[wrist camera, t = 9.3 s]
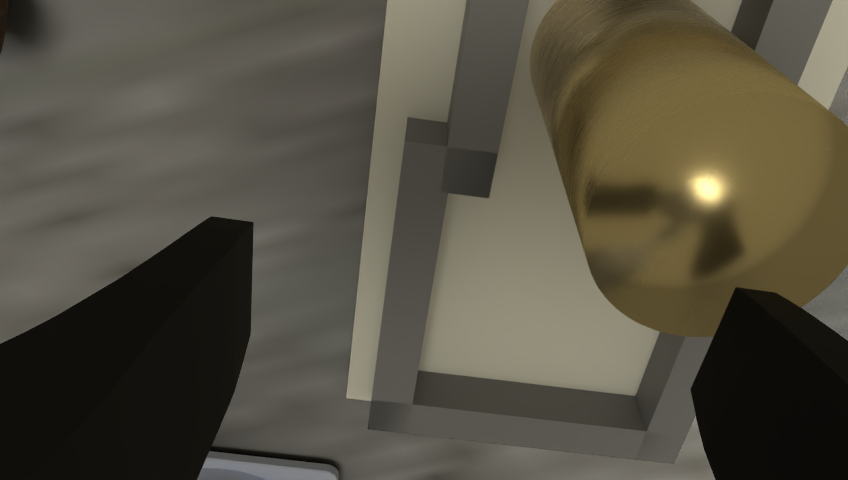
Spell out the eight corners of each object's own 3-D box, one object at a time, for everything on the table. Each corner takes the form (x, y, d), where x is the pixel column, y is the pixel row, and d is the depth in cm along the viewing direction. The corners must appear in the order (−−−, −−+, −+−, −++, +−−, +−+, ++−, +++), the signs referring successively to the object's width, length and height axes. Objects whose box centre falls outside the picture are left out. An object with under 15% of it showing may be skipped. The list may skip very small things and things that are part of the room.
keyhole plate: (674, 414, 24) (696, 473, 22) (349, 376, 24) (340, 433, 22) (875, -55, 17) (938, -35, 15) (402, -126, 16) (396, -115, 14)
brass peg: (673, 144, 18) (810, 348, 11) (517, 128, 18) (560, 324, 11) (722, -20, 16) (926, 109, 9) (546, -39, 16) (620, 78, 9)
